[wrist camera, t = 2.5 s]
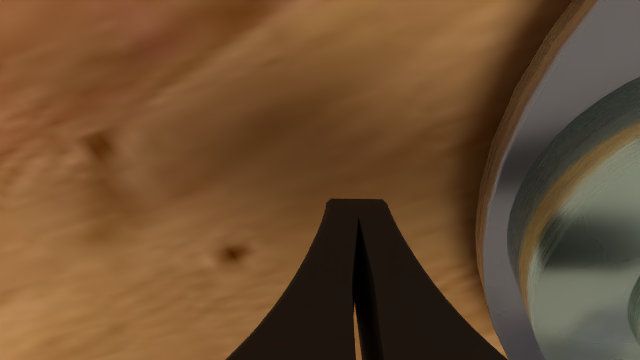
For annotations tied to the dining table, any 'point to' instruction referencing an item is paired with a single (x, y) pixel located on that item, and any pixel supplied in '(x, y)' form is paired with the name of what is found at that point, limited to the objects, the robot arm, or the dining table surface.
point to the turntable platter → (546, 138)
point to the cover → (583, 235)
